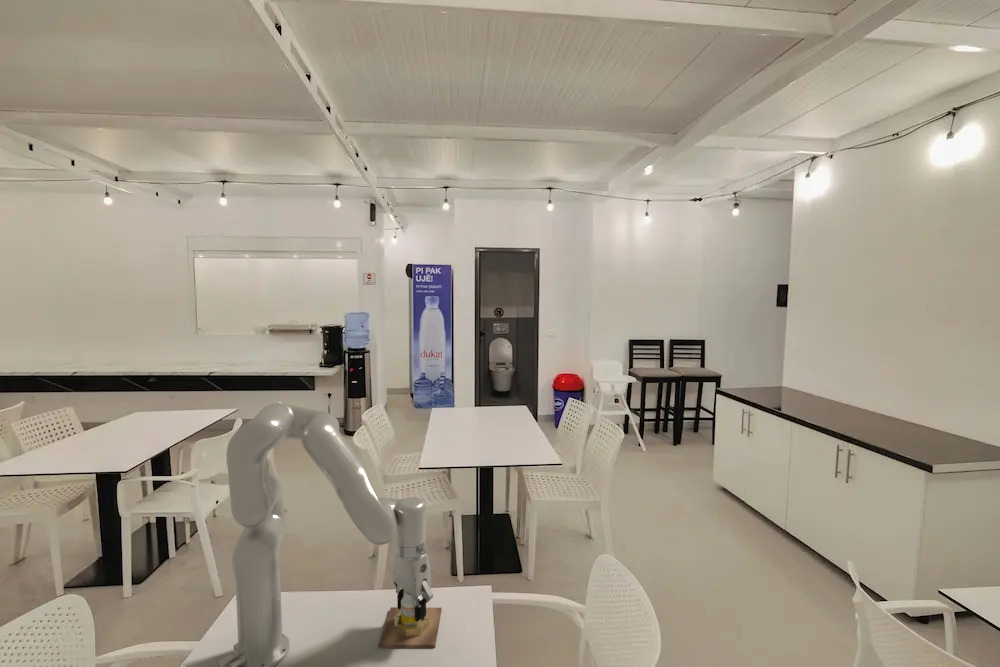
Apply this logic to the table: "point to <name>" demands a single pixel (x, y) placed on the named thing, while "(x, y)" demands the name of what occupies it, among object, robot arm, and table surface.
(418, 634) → the collar
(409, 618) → the supplement bottle
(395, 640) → the base plate
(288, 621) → the table surface
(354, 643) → the table surface
